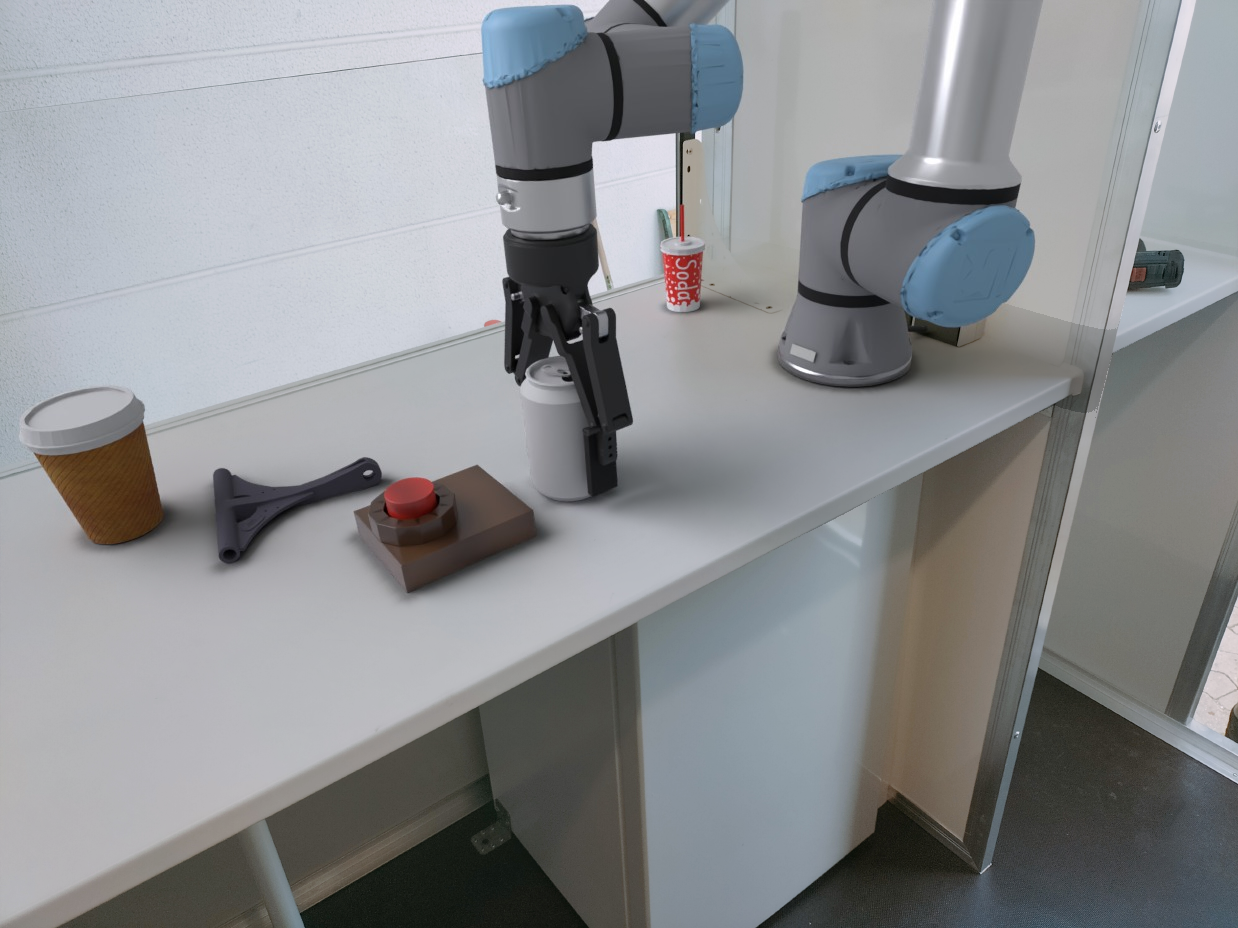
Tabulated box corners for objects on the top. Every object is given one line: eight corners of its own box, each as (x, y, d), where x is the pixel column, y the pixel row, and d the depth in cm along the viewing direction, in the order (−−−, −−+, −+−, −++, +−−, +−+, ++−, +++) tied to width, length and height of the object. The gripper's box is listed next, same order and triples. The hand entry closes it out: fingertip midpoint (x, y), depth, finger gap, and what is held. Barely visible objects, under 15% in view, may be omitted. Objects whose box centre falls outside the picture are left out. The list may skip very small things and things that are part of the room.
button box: (481, 488, 80) (474, 447, 78) (536, 536, 73) (531, 492, 71) (359, 536, 74) (348, 493, 72) (407, 593, 67) (396, 547, 65)
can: (601, 509, 76) (593, 388, 70) (521, 503, 78) (506, 384, 71) (618, 466, 82) (611, 351, 76) (543, 461, 84) (531, 348, 78)
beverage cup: (656, 313, 117) (654, 210, 110) (667, 298, 122) (664, 199, 115) (700, 315, 116) (700, 211, 109) (709, 300, 121) (709, 199, 114)
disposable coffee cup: (190, 531, 76) (146, 411, 70) (70, 569, 72) (12, 446, 66) (174, 485, 83) (133, 373, 77) (64, 518, 79) (11, 402, 73)
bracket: (398, 518, 76) (392, 492, 75) (221, 565, 71) (212, 538, 70) (369, 449, 88) (364, 425, 87) (215, 485, 83) (207, 461, 82)
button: (424, 489, 73) (421, 471, 72) (445, 509, 70) (442, 491, 69) (380, 506, 71) (376, 488, 70) (400, 527, 68) (396, 509, 67)
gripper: (444, 210, 74) (478, 436, 85) (590, 268, 58) (607, 536, 69) (518, 195, 77) (541, 413, 89) (675, 245, 62) (678, 503, 73)
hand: (570, 467), depth 79 cm, fingers open, 10 cm apart
